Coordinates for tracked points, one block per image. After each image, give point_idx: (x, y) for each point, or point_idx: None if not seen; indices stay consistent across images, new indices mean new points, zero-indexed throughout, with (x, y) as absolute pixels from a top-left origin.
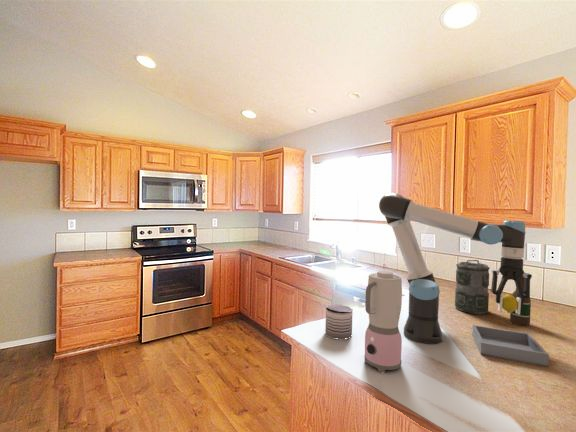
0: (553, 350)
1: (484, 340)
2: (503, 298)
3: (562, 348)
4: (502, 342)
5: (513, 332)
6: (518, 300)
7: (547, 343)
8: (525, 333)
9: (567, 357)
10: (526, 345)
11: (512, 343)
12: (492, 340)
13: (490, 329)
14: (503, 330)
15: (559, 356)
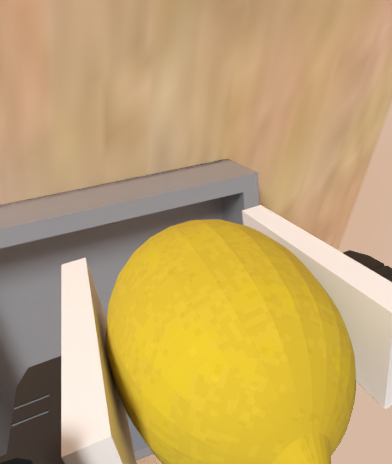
0: (314, 170)
1: (4, 300)
2: (154, 453)
3: (362, 107)
4: (100, 258)
5: (168, 207)
6: (360, 376)
7: (320, 68)
8: (235, 190)
9: (338, 221)
10: (212, 214)
11: (149, 234)
12: (47, 267)
13: (20, 239)
14: (108, 222)
15: (313, 232)
